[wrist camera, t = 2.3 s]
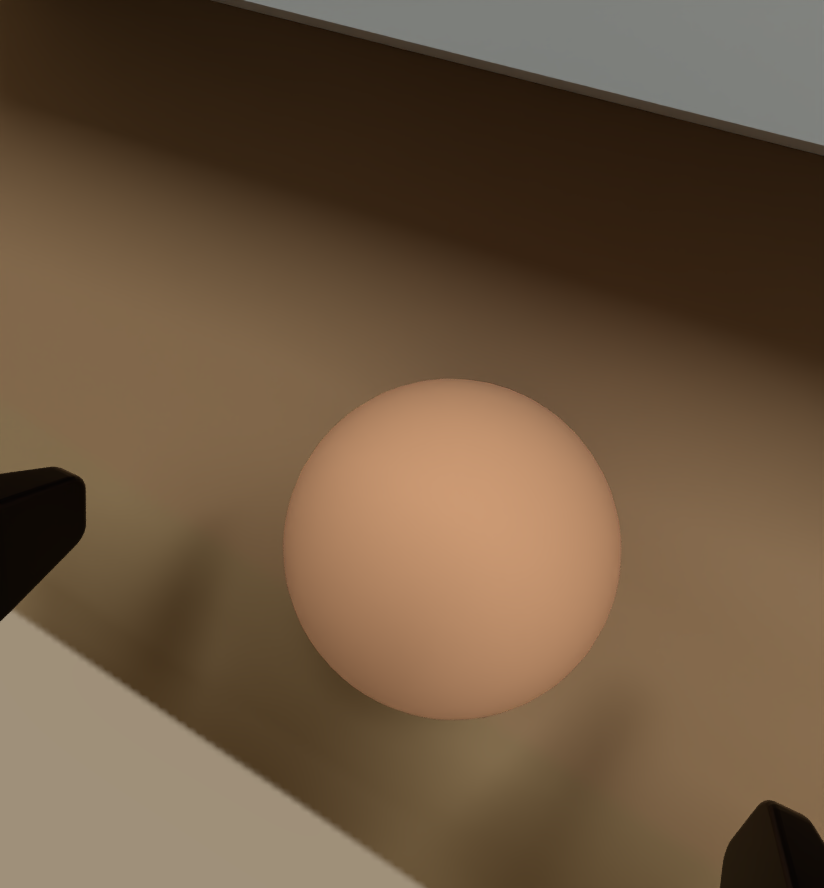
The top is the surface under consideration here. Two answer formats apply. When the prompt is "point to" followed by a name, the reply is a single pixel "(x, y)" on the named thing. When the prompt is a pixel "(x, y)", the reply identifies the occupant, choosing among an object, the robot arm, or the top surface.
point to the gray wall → (619, 51)
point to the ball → (452, 549)
